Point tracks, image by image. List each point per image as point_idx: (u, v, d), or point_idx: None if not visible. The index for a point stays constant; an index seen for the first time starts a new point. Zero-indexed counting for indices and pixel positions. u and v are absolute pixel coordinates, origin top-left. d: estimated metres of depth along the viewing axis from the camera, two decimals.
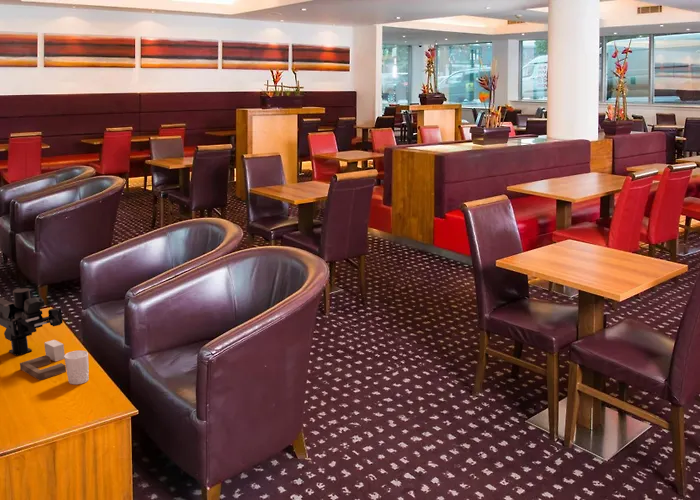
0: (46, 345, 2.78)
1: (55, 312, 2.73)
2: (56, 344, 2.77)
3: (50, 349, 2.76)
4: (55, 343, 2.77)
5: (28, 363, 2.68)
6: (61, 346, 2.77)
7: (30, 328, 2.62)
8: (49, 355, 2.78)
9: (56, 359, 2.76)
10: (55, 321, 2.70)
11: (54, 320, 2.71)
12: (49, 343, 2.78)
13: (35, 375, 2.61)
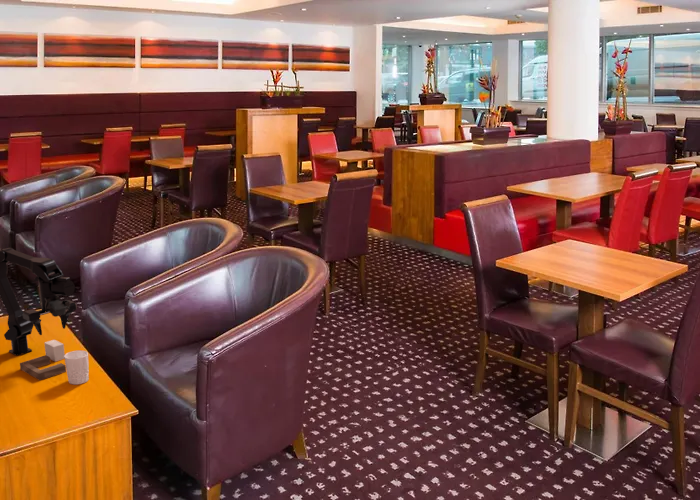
0: (46, 345, 2.78)
1: (69, 313, 2.78)
2: (56, 344, 2.77)
3: (50, 349, 2.76)
4: (55, 343, 2.77)
5: (28, 363, 2.68)
6: (61, 346, 2.77)
7: (38, 330, 2.72)
8: (49, 355, 2.78)
9: (56, 359, 2.76)
10: (63, 319, 2.79)
11: (63, 317, 2.79)
12: (49, 343, 2.78)
13: (35, 375, 2.61)
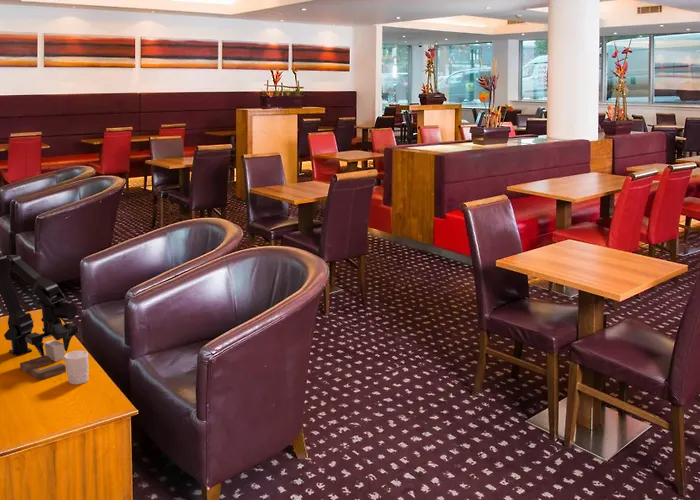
0: (46, 345, 2.78)
1: (71, 336, 2.81)
2: (56, 344, 2.77)
3: (50, 349, 2.76)
4: (55, 343, 2.77)
5: (28, 363, 2.68)
6: (61, 346, 2.77)
7: (40, 353, 2.74)
8: (49, 355, 2.78)
9: (56, 359, 2.76)
10: (65, 342, 2.82)
11: (65, 339, 2.81)
12: (49, 343, 2.78)
13: (35, 375, 2.61)
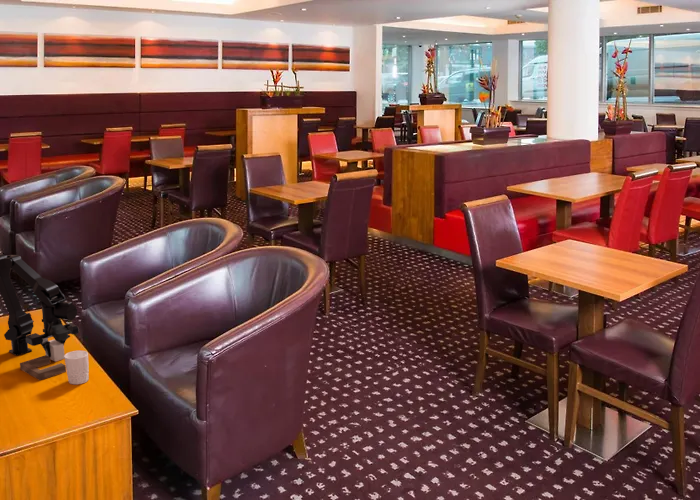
0: None
1: (66, 338, 2.79)
2: (56, 344, 2.77)
3: (50, 349, 2.76)
4: (55, 343, 2.77)
5: (28, 363, 2.68)
6: (61, 346, 2.76)
7: (47, 352, 2.76)
8: None
9: (56, 359, 2.76)
10: None
11: None
12: None
13: (35, 375, 2.61)
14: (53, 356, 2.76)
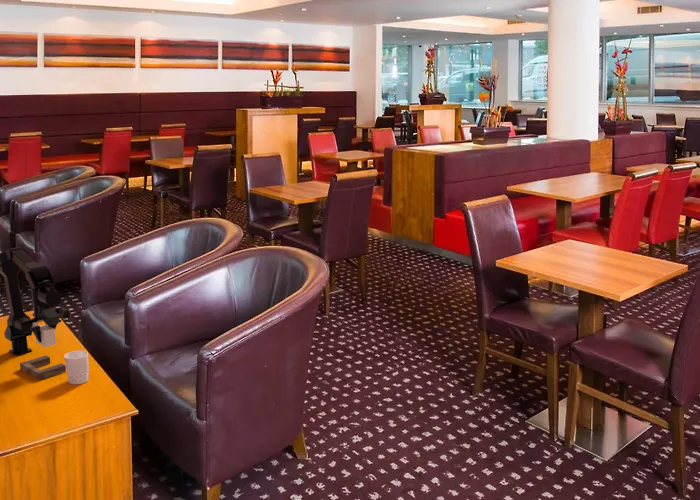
0: None
1: (57, 323, 2.66)
2: (47, 329, 2.64)
3: (40, 334, 2.64)
4: (45, 328, 2.65)
5: (28, 363, 2.68)
6: (52, 331, 2.64)
7: (37, 337, 2.63)
8: None
9: (47, 344, 2.63)
10: None
11: None
12: None
13: (35, 375, 2.61)
14: (44, 341, 2.63)
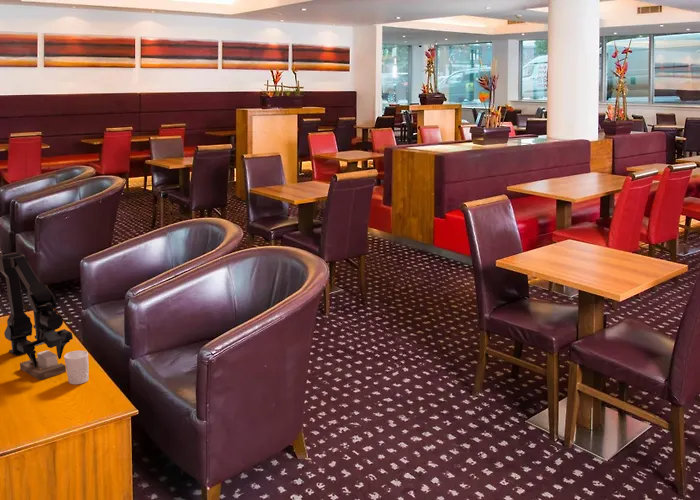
0: (39, 356, 2.68)
1: (65, 343, 2.70)
2: (49, 355, 2.66)
3: (43, 360, 2.66)
4: (48, 354, 2.67)
5: (28, 363, 2.68)
6: (54, 357, 2.66)
7: (33, 361, 2.64)
8: (42, 366, 2.68)
9: None
10: (58, 349, 2.71)
11: (58, 347, 2.71)
12: (42, 354, 2.67)
13: (35, 375, 2.61)
14: None
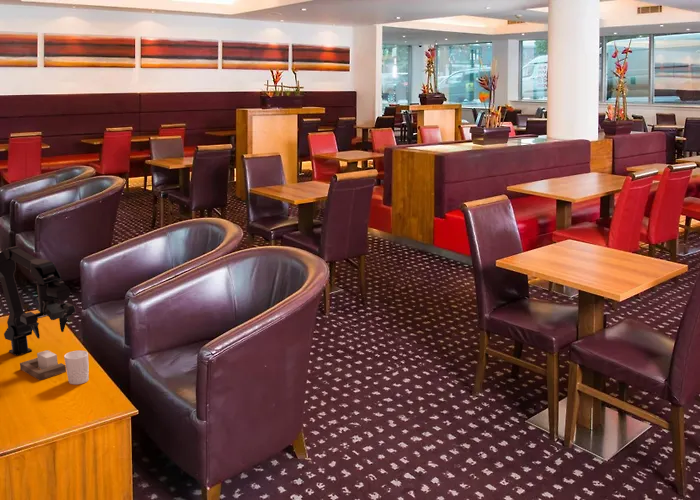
0: (39, 356, 2.68)
1: (68, 316, 2.73)
2: (49, 355, 2.66)
3: (43, 360, 2.66)
4: (48, 354, 2.67)
5: (28, 363, 2.68)
6: (54, 357, 2.66)
7: (36, 333, 2.67)
8: (42, 366, 2.68)
9: None
10: (61, 322, 2.74)
11: (61, 320, 2.74)
12: (42, 354, 2.67)
13: (35, 375, 2.61)
14: None
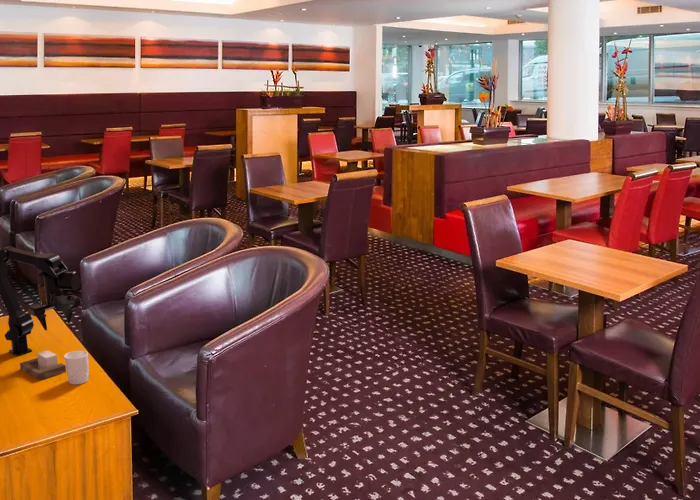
0: (39, 356, 2.68)
1: (74, 308, 2.79)
2: (49, 355, 2.66)
3: (43, 360, 2.66)
4: (48, 354, 2.67)
5: (28, 363, 2.68)
6: (54, 357, 2.66)
7: (43, 325, 2.73)
8: (42, 366, 2.68)
9: None
10: (67, 314, 2.80)
11: (68, 312, 2.80)
12: (42, 354, 2.67)
13: (35, 375, 2.61)
14: None
